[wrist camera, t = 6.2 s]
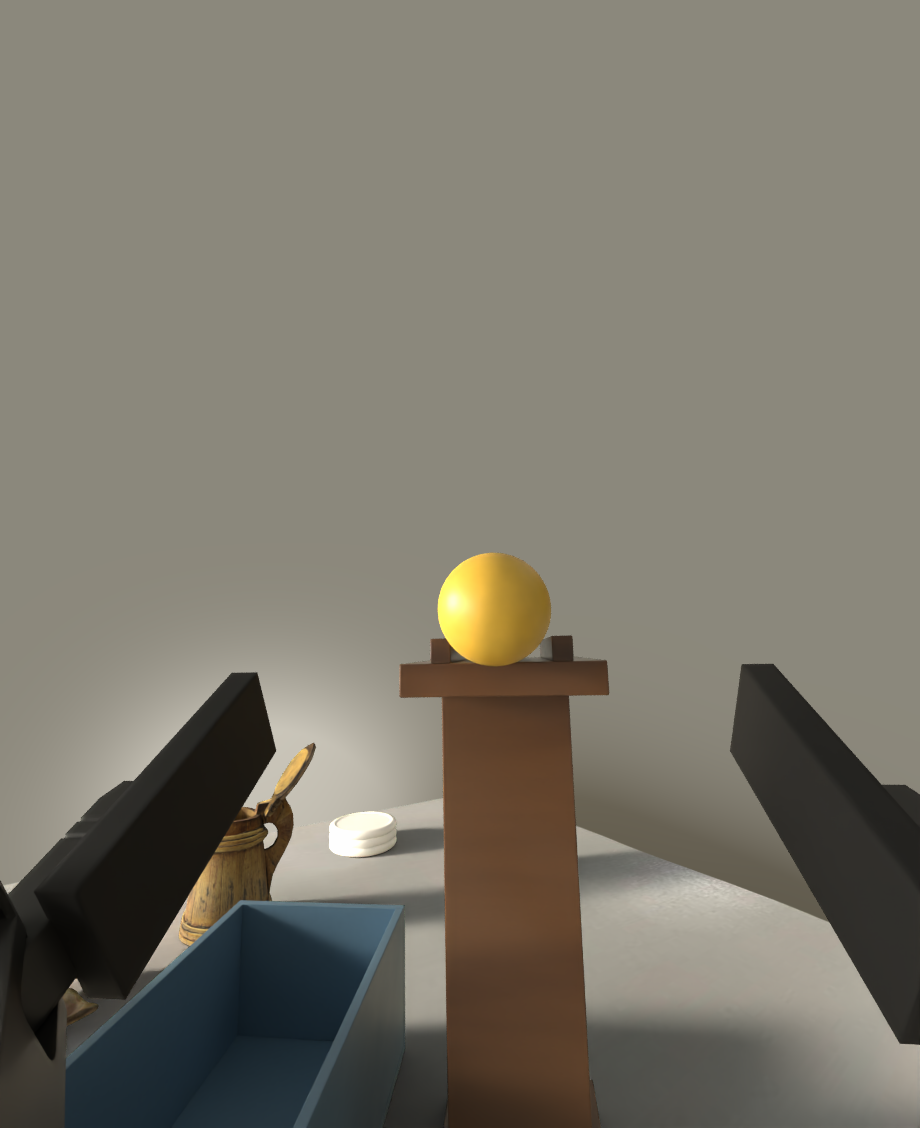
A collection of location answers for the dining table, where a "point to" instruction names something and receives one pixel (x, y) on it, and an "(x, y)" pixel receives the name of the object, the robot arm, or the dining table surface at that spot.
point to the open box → (257, 1027)
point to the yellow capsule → (494, 609)
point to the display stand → (512, 886)
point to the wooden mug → (244, 857)
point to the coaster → (362, 834)
